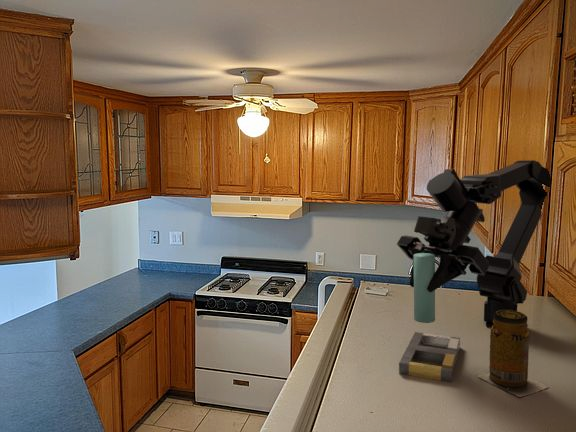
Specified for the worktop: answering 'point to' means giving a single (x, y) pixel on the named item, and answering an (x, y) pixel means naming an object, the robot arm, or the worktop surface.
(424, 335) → the socket plate
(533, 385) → the condiment
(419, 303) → the plug
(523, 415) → the worktop surface
